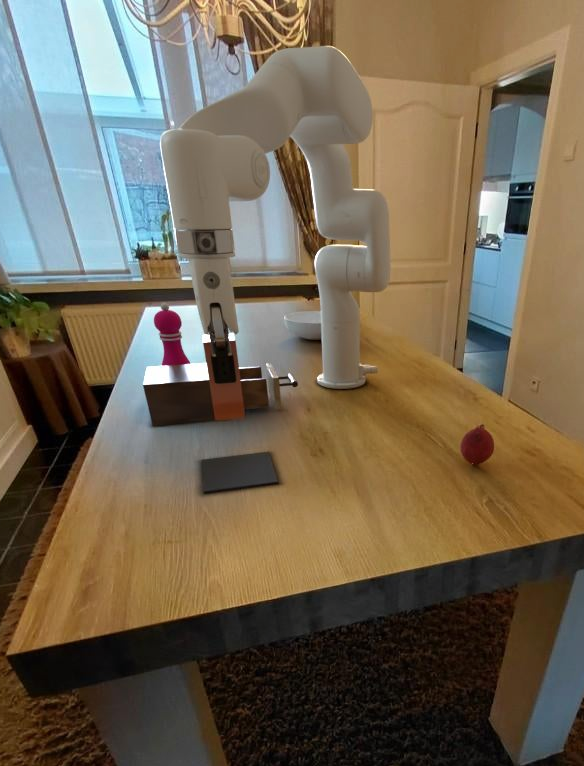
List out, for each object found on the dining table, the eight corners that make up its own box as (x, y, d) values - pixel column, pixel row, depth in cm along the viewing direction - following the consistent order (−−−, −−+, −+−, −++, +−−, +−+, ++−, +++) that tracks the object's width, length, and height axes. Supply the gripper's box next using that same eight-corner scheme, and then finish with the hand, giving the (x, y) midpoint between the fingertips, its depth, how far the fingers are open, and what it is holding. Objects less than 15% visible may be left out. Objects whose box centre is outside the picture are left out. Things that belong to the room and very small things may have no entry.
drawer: (292, 390, 120) (290, 361, 116) (301, 406, 110) (299, 376, 107) (215, 397, 115) (211, 367, 111) (218, 414, 106) (213, 383, 102)
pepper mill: (186, 394, 119) (170, 306, 108) (159, 392, 120) (140, 304, 109) (201, 385, 125) (186, 300, 114) (175, 383, 126) (158, 299, 115)
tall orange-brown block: (242, 408, 82) (233, 333, 76) (245, 417, 79) (235, 340, 72) (214, 410, 81) (202, 335, 75) (215, 420, 77) (202, 342, 71)
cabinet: (222, 399, 116) (216, 362, 112) (225, 419, 106) (219, 378, 101) (155, 405, 113) (146, 366, 108) (152, 426, 102) (142, 384, 98)
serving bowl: (344, 345, 161) (344, 323, 158) (280, 344, 161) (279, 322, 158) (347, 331, 179) (347, 310, 175) (290, 330, 179) (288, 310, 175)
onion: (483, 476, 86) (490, 433, 81) (453, 467, 88) (458, 425, 84) (495, 463, 90) (502, 422, 86) (465, 455, 92) (471, 415, 88)
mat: (268, 453, 92) (268, 451, 92) (278, 483, 82) (278, 481, 82) (202, 461, 89) (201, 459, 89) (203, 493, 79) (203, 491, 79)
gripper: (239, 249, 61) (255, 392, 71) (229, 240, 75) (244, 361, 85) (175, 249, 59) (200, 397, 69) (177, 240, 73) (198, 364, 83)
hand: (224, 376), depth 77 cm, fingers closed on tall orange-brown block, 4 cm apart
